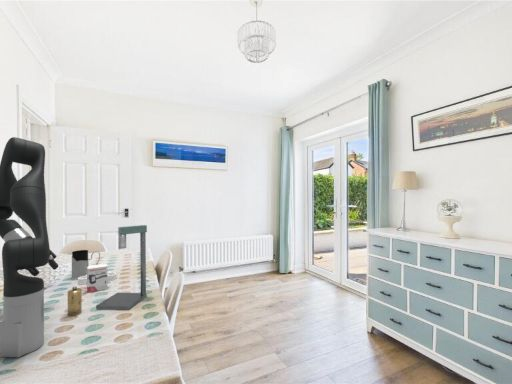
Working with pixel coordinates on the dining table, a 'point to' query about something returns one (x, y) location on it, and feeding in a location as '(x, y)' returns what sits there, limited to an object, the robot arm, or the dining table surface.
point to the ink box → (97, 278)
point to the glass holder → (80, 263)
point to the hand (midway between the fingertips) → (47, 271)
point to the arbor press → (131, 299)
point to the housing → (74, 301)
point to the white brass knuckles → (110, 277)
